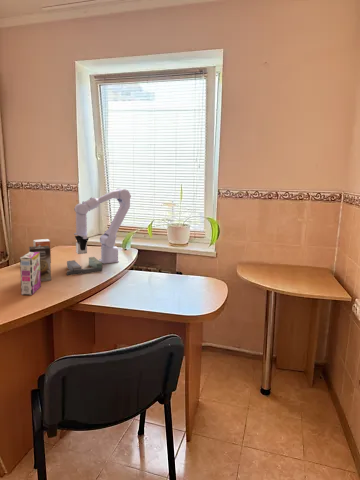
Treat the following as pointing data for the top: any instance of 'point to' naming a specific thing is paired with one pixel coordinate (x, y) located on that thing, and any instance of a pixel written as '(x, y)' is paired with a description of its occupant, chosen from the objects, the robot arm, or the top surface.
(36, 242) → the small box
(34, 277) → the candy bar box
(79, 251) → the steel block
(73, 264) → the grey rectangular bar
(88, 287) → the top surface
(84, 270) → the vise
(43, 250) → the coffee box
